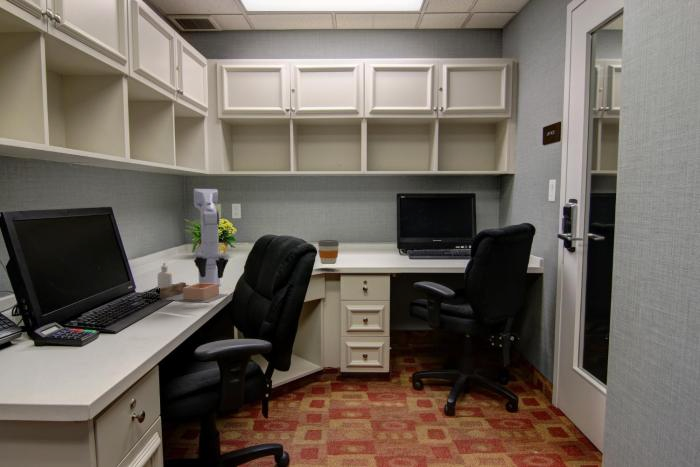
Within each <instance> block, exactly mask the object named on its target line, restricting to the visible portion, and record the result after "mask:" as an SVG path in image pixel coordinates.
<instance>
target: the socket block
mask: <svg viewBox="0 0 700 467" xmlns="http://www.w3.org/2000/svg"><path fill="white" fill-rule="evenodd" d="M219 294H220V286H219V284H214V283H199V282H197V283H194V284H191V285H187V286H186V287H184V288H183V299H189V300H206V299H209V298H212V297H214V296H217V295H219Z"/></svg>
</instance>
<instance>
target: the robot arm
mask: <svg viewBox="0 0 700 467" xmlns="http://www.w3.org/2000/svg"><path fill="white" fill-rule="evenodd" d="M218 201H219V190H218V189H217V188H196V187H195V188H194V189H193V204H194V208H196V209H198V211H199V214H200V240H201V245H200V246H199V247H198V248H196V249H195V252H194V253H193V259H194V260H193V262H194V265H195V267H196V268H197V269H198V283H214V284H219V287H220V286H222V283H221V278H223V277H224V272H225V269H226V267H227V264H228V262H229V260H230V254H229V253H220V251H219V250H220V246H219V245H220V244H219V243H220V242H219V240H220V239H219V226H220V220H221V219H220V218H221V217H220V212H219V210H217V206H218Z"/></svg>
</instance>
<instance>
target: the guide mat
mask: <svg viewBox="0 0 700 467" xmlns="http://www.w3.org/2000/svg"><path fill="white" fill-rule="evenodd" d="M228 295H229V294H228V293H227V294H226V293H219V295H217V296H214V297H212V298H209V299H206V300H189V299H183V293H181V294H178V295H175V296H172V297H169V298H166V299H163V300H166V301H176V302H177V301H178V302H179V301H180V302H190V303H191V302H192V303H202V304H203V303H204V304H205V303H206V304H209V303H211V302H214V301H217V300H218V299H221V298H224V297H226V296H228Z"/></svg>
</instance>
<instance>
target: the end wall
mask: <svg viewBox="0 0 700 467" xmlns="http://www.w3.org/2000/svg"><path fill="white" fill-rule="evenodd" d="M186 285H187V284H186V282H183V281H182V282H178V283H175V284H172V285H171V286H167V287H164V288H160V290H159V294H160V295H159V296H160V297H159V298H161V299H160V300H164V299H166V298H169V297H172V296H175V295H178V294H181V293H183V288H184V287H187V286H186Z"/></svg>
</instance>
